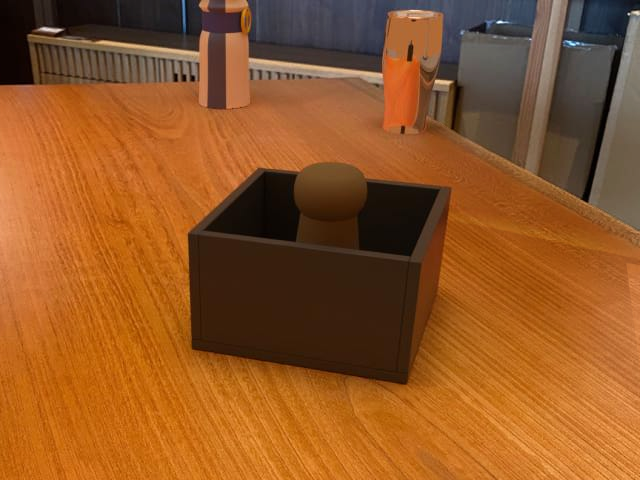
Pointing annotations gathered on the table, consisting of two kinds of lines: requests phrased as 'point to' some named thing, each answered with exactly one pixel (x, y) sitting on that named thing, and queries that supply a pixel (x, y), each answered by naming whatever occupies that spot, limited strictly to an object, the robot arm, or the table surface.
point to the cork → (330, 204)
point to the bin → (318, 279)
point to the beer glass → (410, 68)
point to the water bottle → (224, 54)
